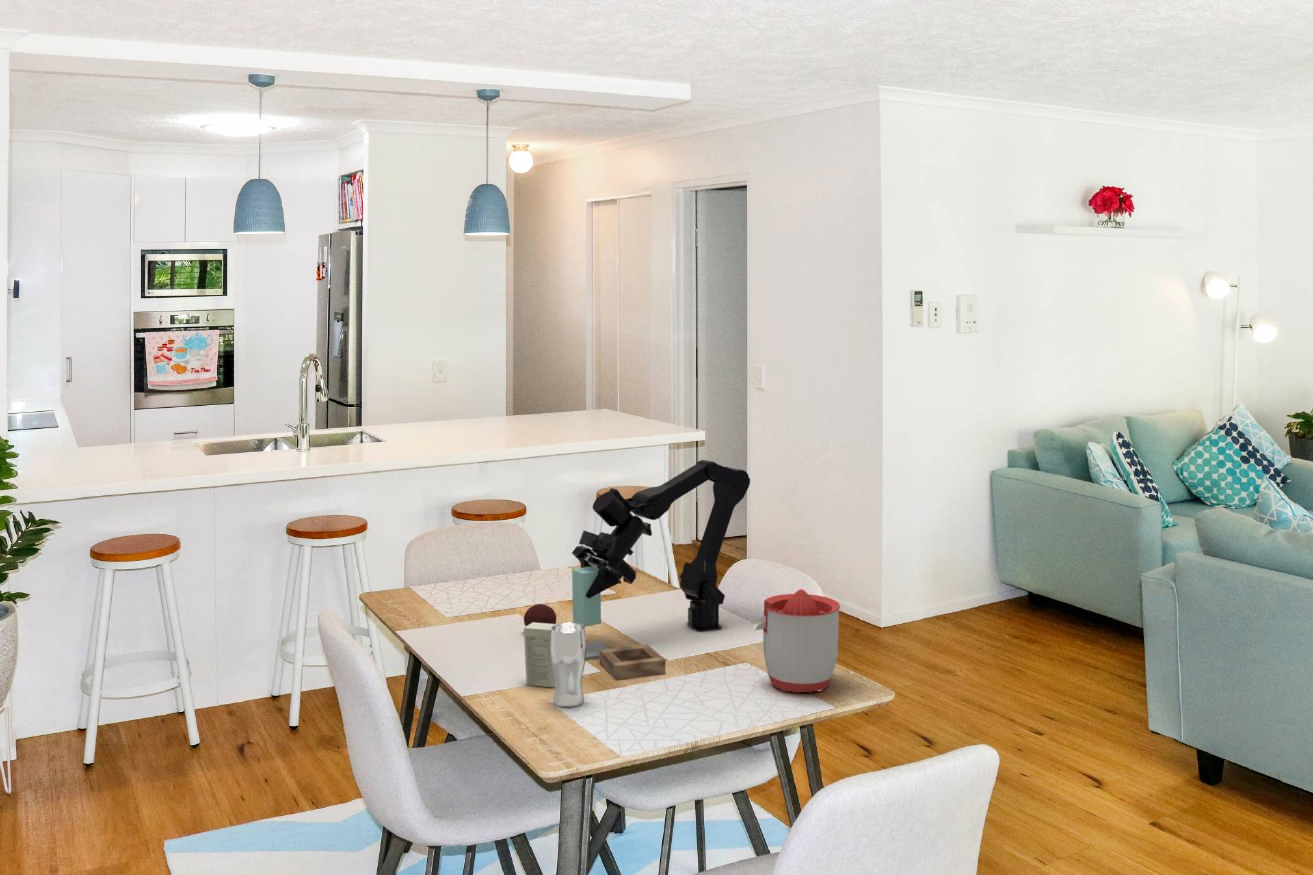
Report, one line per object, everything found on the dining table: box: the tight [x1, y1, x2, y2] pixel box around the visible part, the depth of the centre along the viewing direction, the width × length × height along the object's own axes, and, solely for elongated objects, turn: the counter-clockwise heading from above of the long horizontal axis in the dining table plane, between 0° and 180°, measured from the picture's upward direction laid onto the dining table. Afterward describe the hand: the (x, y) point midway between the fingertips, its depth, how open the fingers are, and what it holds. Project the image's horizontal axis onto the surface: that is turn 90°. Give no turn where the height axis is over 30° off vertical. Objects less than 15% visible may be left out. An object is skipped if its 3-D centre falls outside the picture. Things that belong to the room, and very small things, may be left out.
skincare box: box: [523, 622, 557, 688], centre depth 226 cm, size 6×4×12 cm
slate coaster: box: [585, 640, 610, 661], centre depth 246 cm, size 10×10×1 cm
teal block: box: [571, 567, 602, 627], centre depth 244 cm, size 4×4×12 cm
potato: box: [523, 603, 557, 627], centre depth 260 cm, size 7×8×7 cm
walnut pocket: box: [599, 644, 666, 681], centre depth 235 cm, size 11×11×3 cm
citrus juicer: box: [753, 588, 841, 693], centre depth 224 cm, size 16×17×20 cm
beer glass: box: [550, 622, 587, 708], centre depth 215 cm, size 7×7×15 cm
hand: (581, 594), depth 243 cm, fingers closed on teal block, 4 cm apart
